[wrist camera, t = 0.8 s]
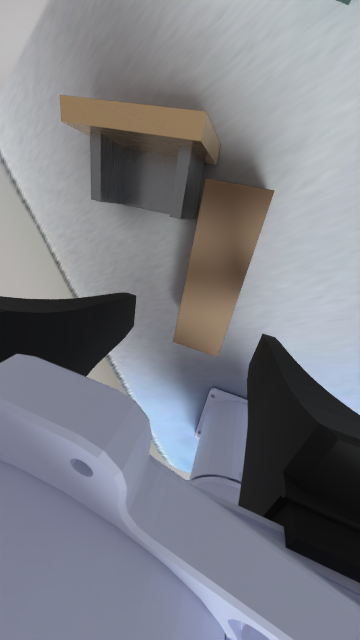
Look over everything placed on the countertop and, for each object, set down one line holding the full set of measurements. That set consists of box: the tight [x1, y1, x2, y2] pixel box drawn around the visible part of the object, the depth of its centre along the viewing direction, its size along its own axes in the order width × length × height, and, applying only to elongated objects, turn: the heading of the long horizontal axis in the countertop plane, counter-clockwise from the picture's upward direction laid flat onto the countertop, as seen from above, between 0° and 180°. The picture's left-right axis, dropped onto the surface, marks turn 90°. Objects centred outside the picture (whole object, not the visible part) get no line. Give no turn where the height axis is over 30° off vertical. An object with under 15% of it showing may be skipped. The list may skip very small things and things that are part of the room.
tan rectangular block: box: [173, 178, 274, 357], centre depth 17 cm, size 12×4×5 cm, turn 169°
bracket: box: [60, 95, 221, 219], centre depth 15 cm, size 5×9×6 cm, turn 80°
